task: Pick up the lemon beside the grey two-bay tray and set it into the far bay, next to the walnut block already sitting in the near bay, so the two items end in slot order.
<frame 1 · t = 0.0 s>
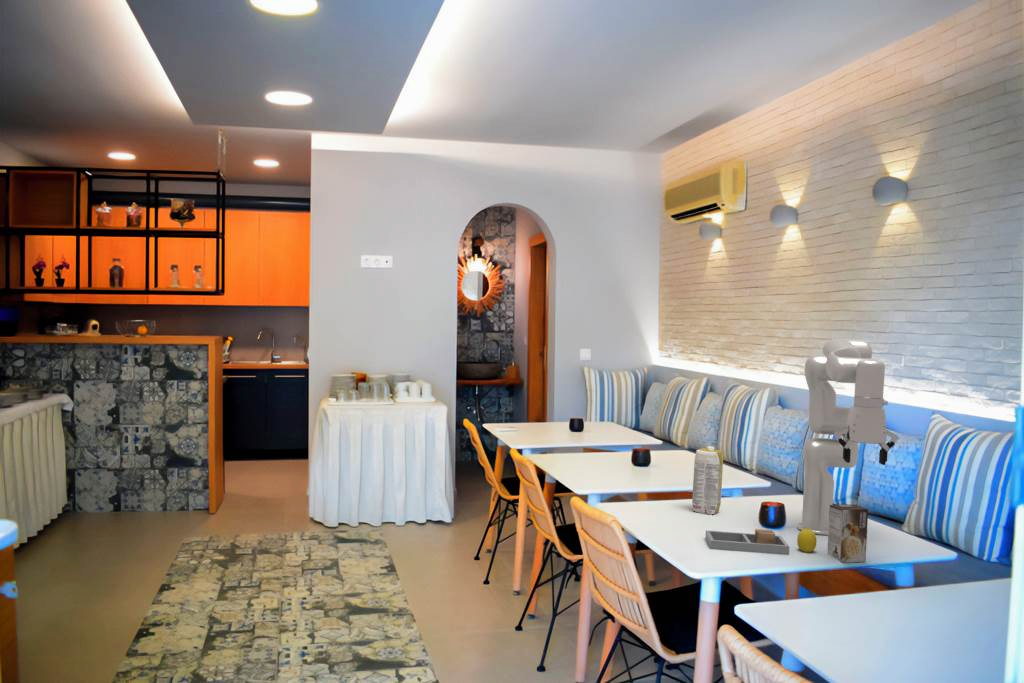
hand: (864, 463, 233), 31 cm above the table, tool pointing down, fingers open, 9 cm apart
coffee box: (845, 560, 245), on the table
slot tray: (745, 549, 251), on the table
walnut block: (764, 547, 250), point 1 cm above the table, touching slot tray
lemon: (805, 554, 249), on the table
juice carton: (705, 512, 298), on the table
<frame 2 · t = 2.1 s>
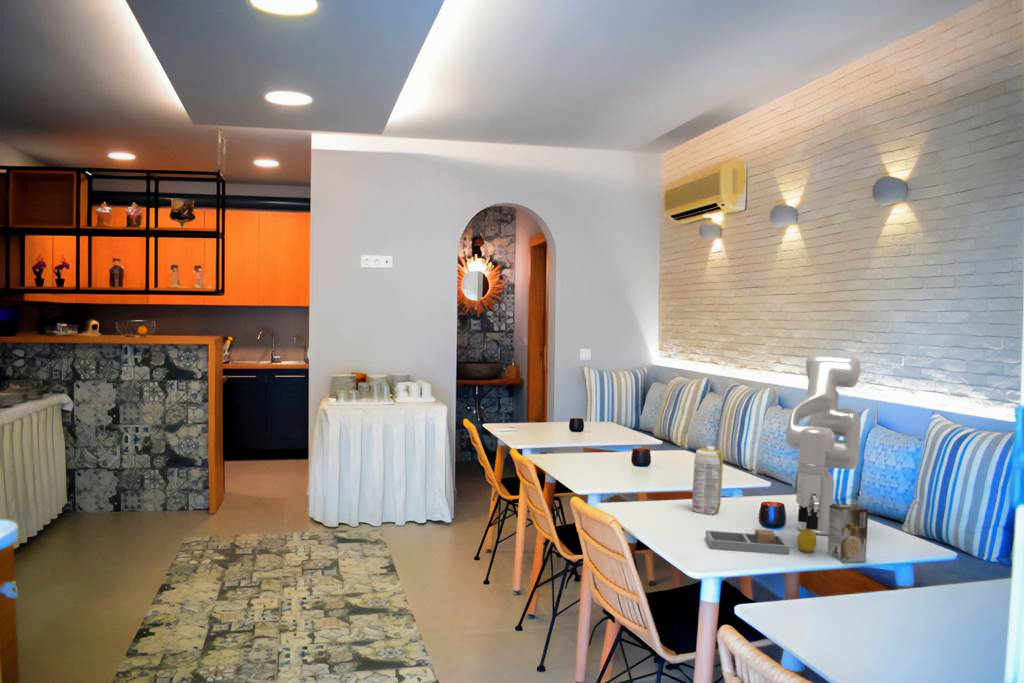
hand: (807, 525, 248), 9 cm above the table, tool pointing down, fingers open, 9 cm apart
nothing on the table moved.
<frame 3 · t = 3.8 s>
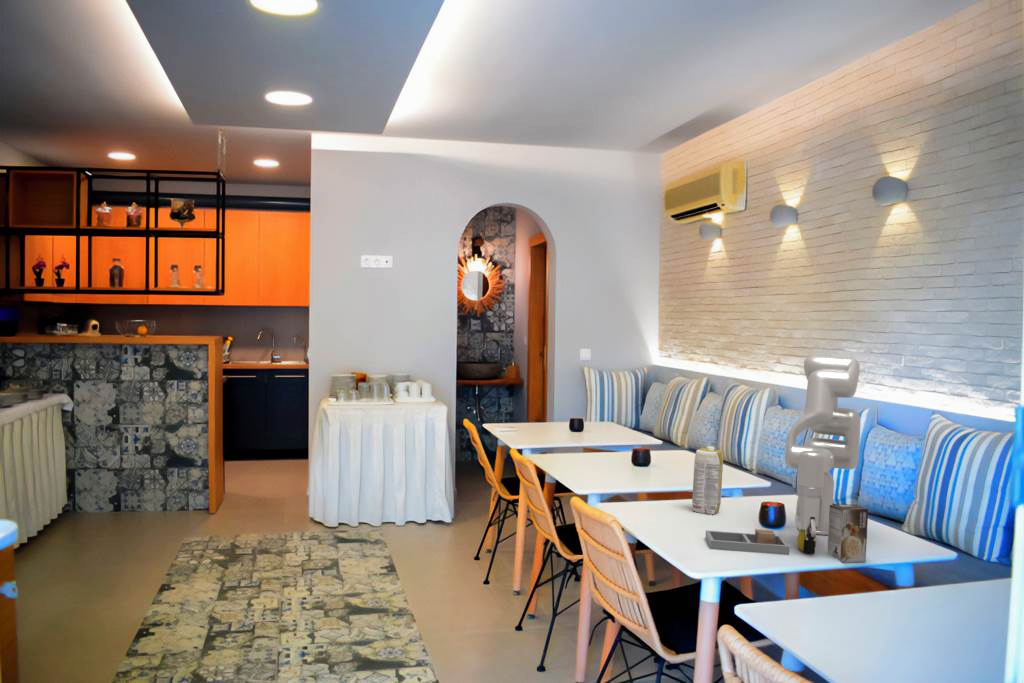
hand: (806, 549, 249), 1 cm above the table, tool pointing down, fingers closed on lemon, 5 cm apart
lemon: (805, 554, 249), on the table, touching gripper
everything else where it was.
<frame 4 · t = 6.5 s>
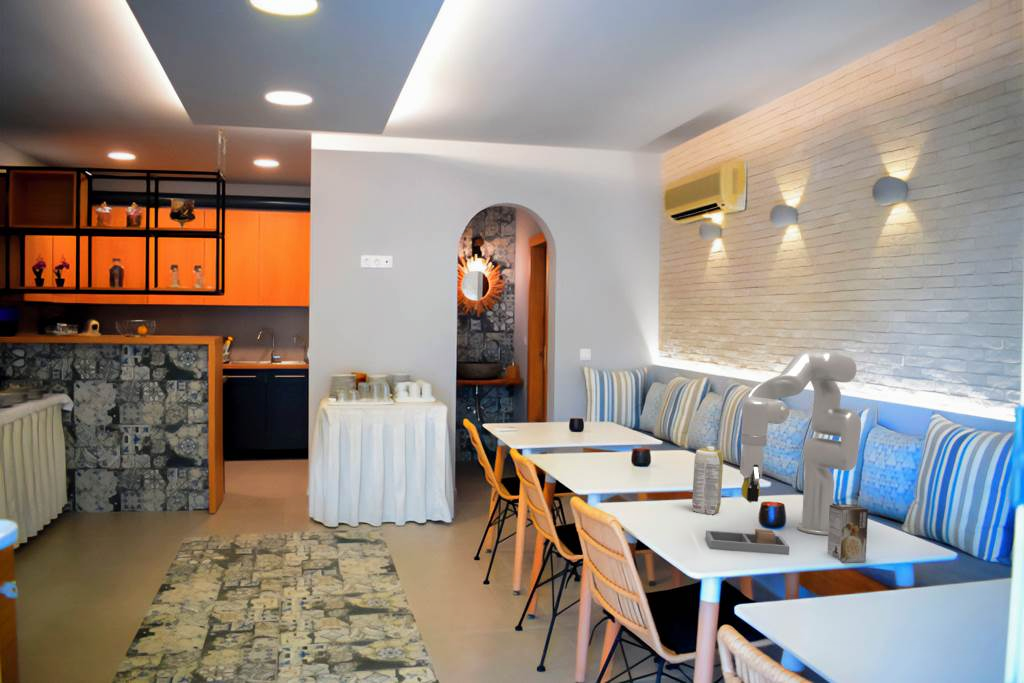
hand: (750, 498, 250), 16 cm above the table, tool pointing down, fingers closed on lemon, 5 cm apart
lemon: (750, 503, 250), point 14 cm above the table, touching gripper
everything else where it was.
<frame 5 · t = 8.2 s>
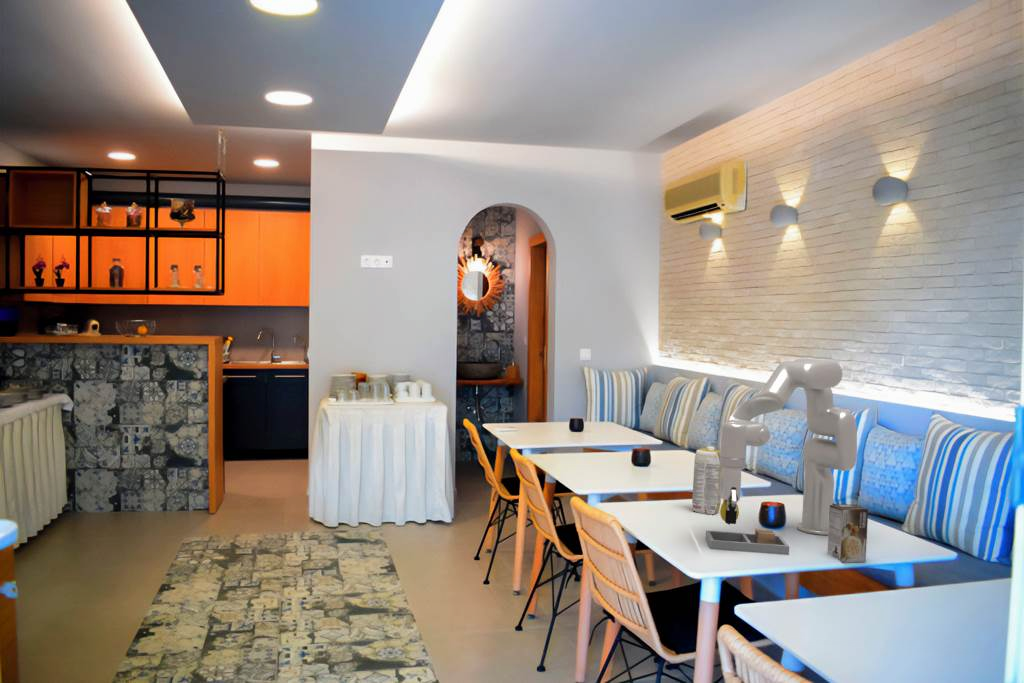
hand: (728, 520, 251), 9 cm above the table, tool pointing down, fingers closed on lemon, 5 cm apart
lemon: (728, 525, 251), point 7 cm above the table, touching gripper
everything else where it was.
when the fingers open (4 cm above the table, at t = 9.4 s): lemon drops 2 cm, resting on slot tray.
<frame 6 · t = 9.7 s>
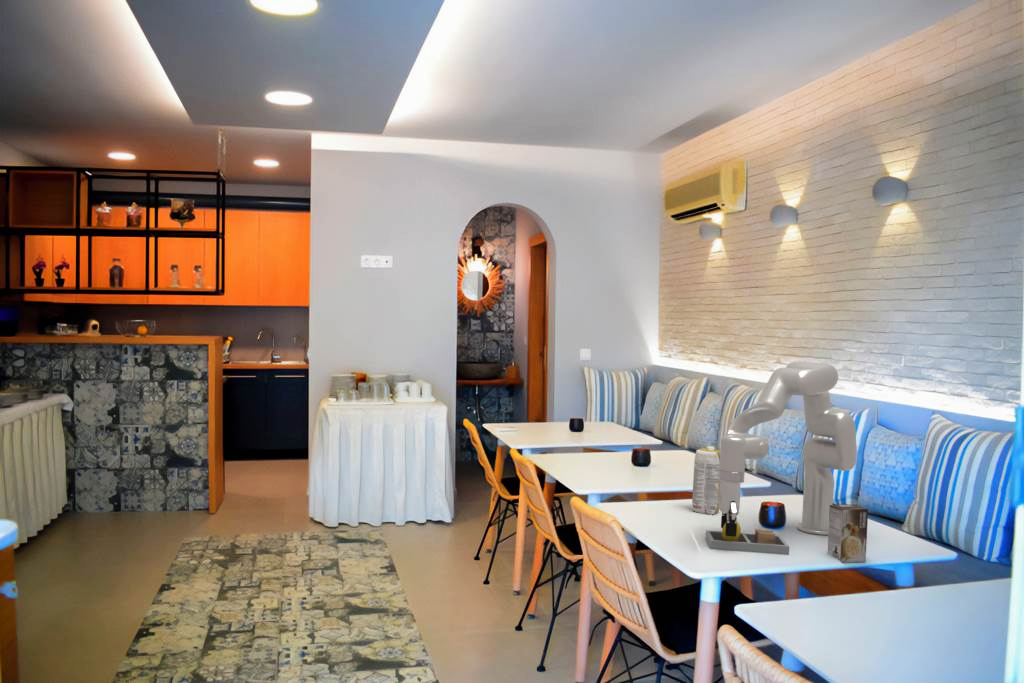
hand: (728, 532, 251), 5 cm above the table, tool pointing down, fingers open, 8 cm apart
lemon: (728, 544, 251), point 1 cm above the table, touching slot tray
everything else where it was.
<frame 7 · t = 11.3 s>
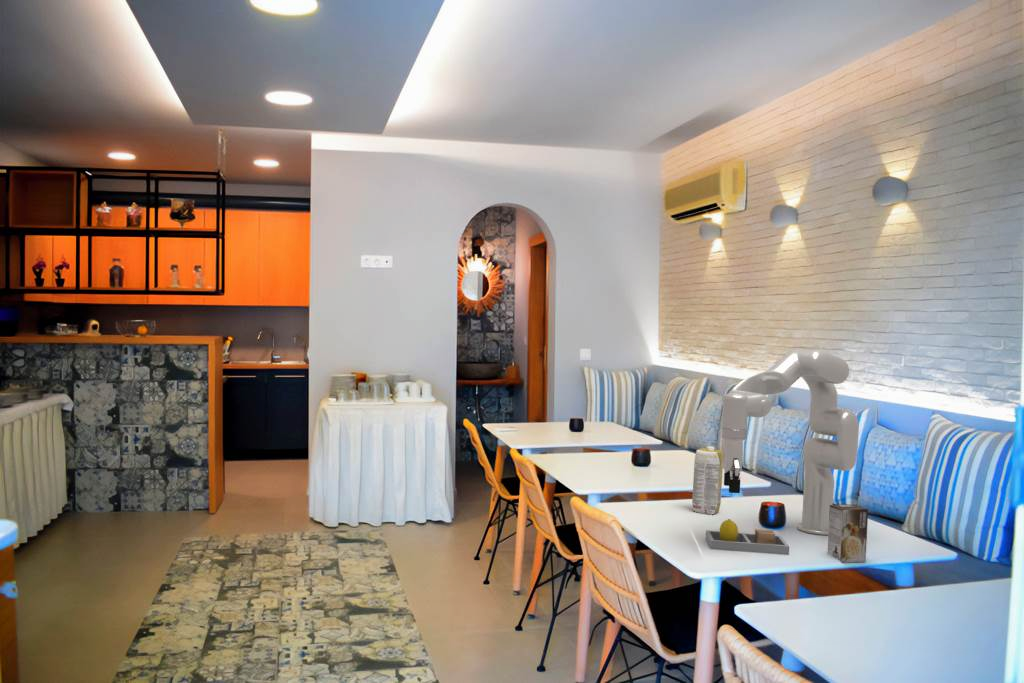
hand: (731, 489, 251), 18 cm above the table, tool pointing down, fingers open, 9 cm apart
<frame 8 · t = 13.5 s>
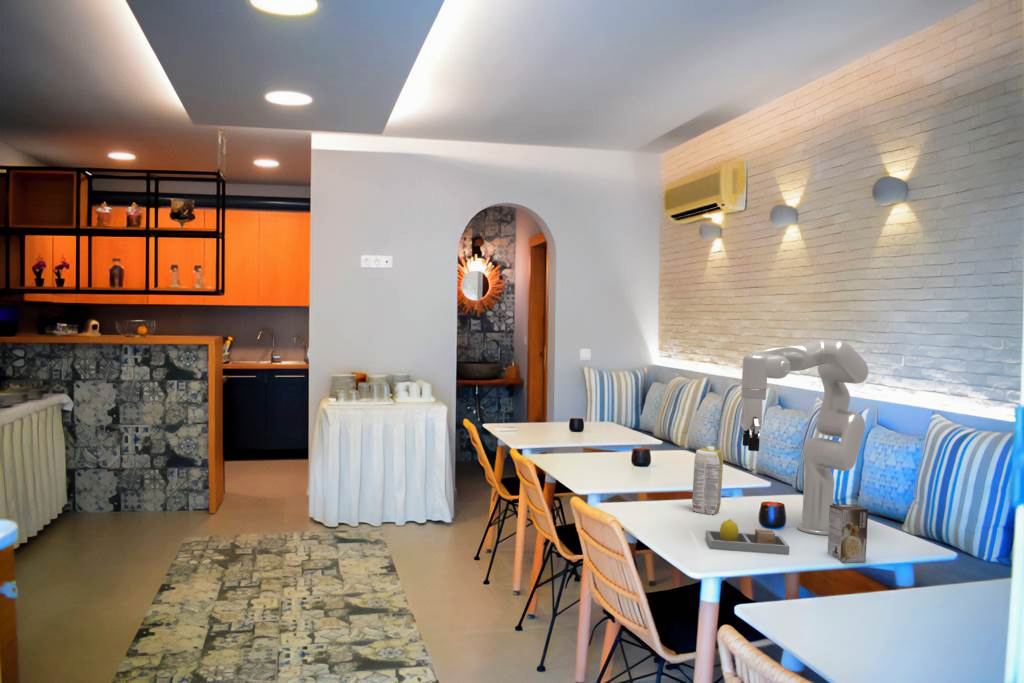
hand: (750, 448, 257), 30 cm above the table, tool pointing down, fingers open, 9 cm apart
nothing on the table moved.
at the end: lemon inside the target area (0.2 cm from its centre), point 0.8 cm above the table; walnut block moved 0.0 cm from its start; the gripper is holding nothing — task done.
